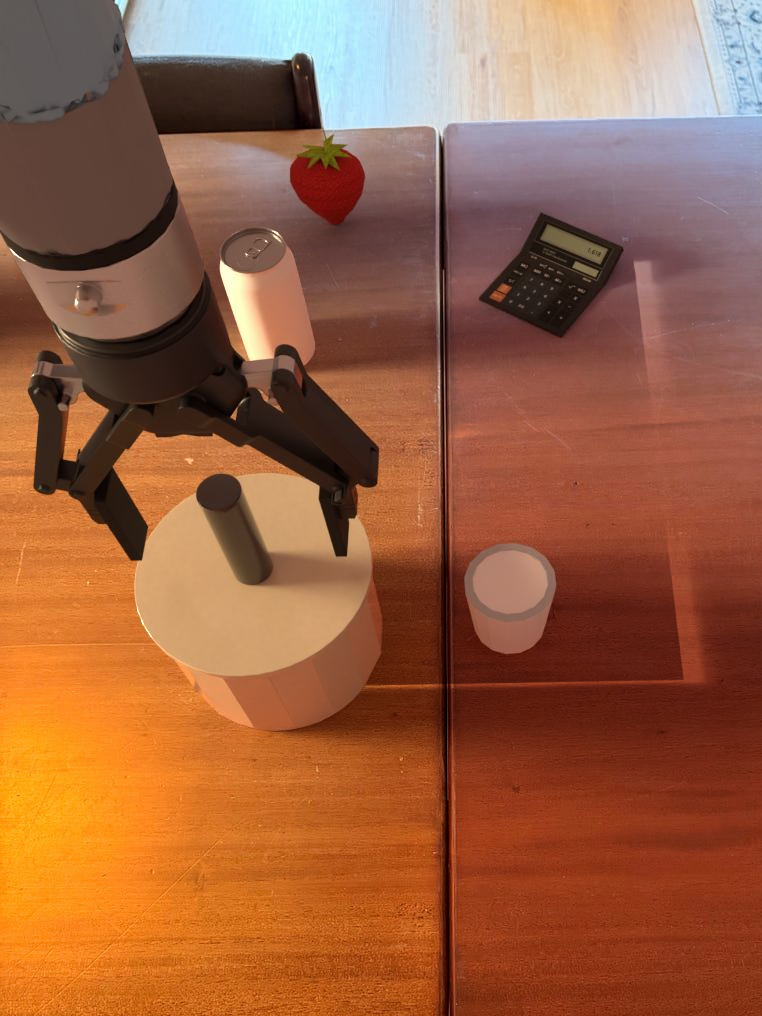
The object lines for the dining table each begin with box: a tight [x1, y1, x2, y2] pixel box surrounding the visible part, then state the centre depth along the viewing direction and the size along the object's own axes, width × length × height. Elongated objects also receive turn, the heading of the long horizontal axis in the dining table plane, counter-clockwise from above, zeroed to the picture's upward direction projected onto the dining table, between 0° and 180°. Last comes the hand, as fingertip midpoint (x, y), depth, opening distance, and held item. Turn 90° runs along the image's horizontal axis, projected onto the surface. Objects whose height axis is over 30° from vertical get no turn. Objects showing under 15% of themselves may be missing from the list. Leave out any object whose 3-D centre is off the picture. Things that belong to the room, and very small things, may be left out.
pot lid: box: [133, 472, 374, 680], centre depth 62 cm, size 17×17×10 cm
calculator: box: [478, 211, 625, 339], centre depth 91 cm, size 9×12×3 cm
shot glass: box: [463, 542, 557, 655], centre depth 72 cm, size 7×7×7 cm
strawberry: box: [289, 126, 366, 226], centre depth 93 cm, size 6×8×10 cm
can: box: [219, 225, 316, 366], centre depth 84 cm, size 6×6×12 cm
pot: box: [174, 576, 384, 732], centre depth 70 cm, size 16×16×10 cm
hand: (241, 541), depth 62 cm, fingers open, 13 cm apart
